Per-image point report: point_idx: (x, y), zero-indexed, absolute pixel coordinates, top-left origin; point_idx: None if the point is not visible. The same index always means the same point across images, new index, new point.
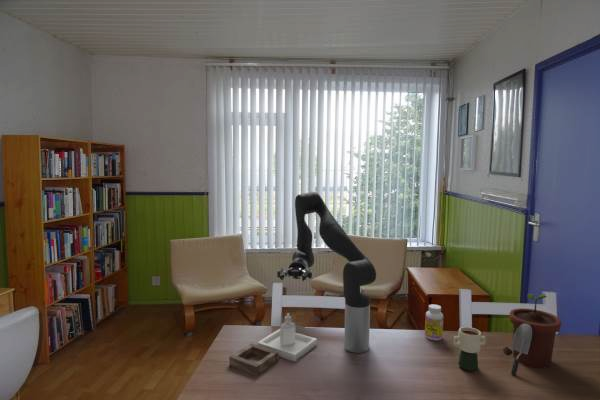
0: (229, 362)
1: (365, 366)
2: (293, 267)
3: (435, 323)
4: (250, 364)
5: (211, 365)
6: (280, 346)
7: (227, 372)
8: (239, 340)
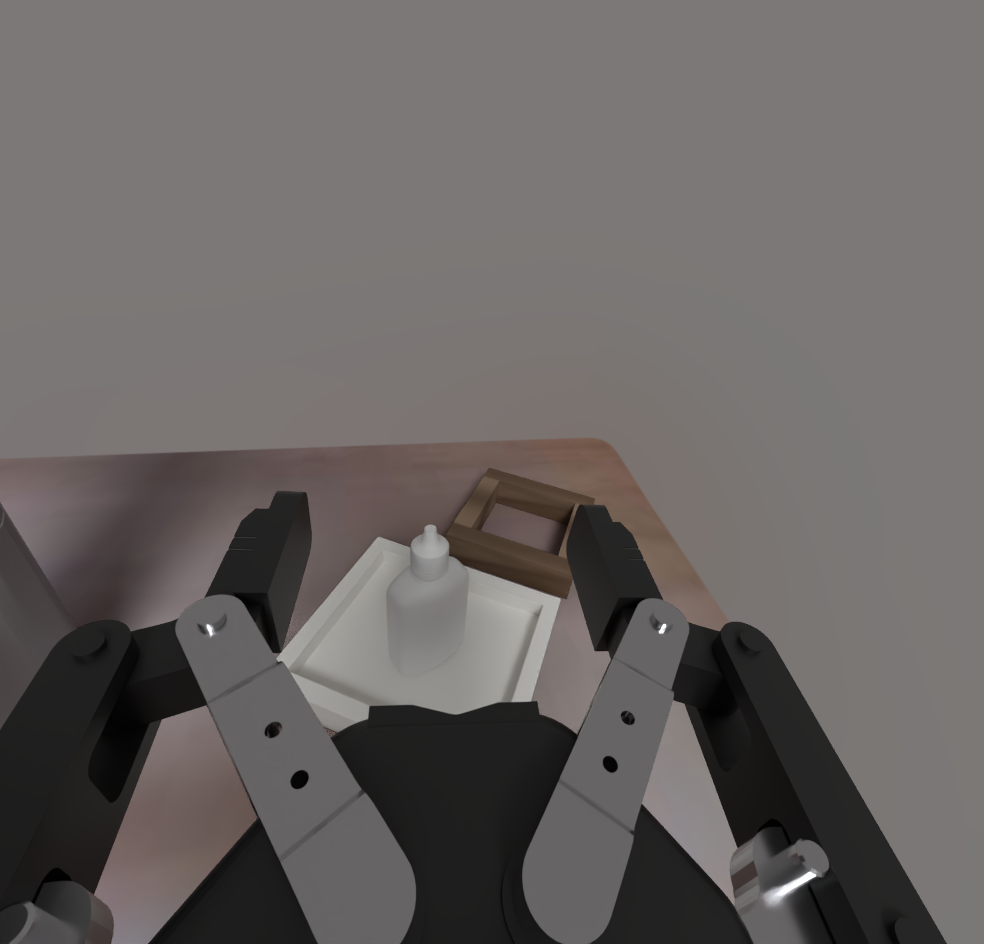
0: None
1: (85, 558)
2: (552, 907)
3: None
4: (511, 474)
5: (637, 515)
6: None
7: None
8: None
